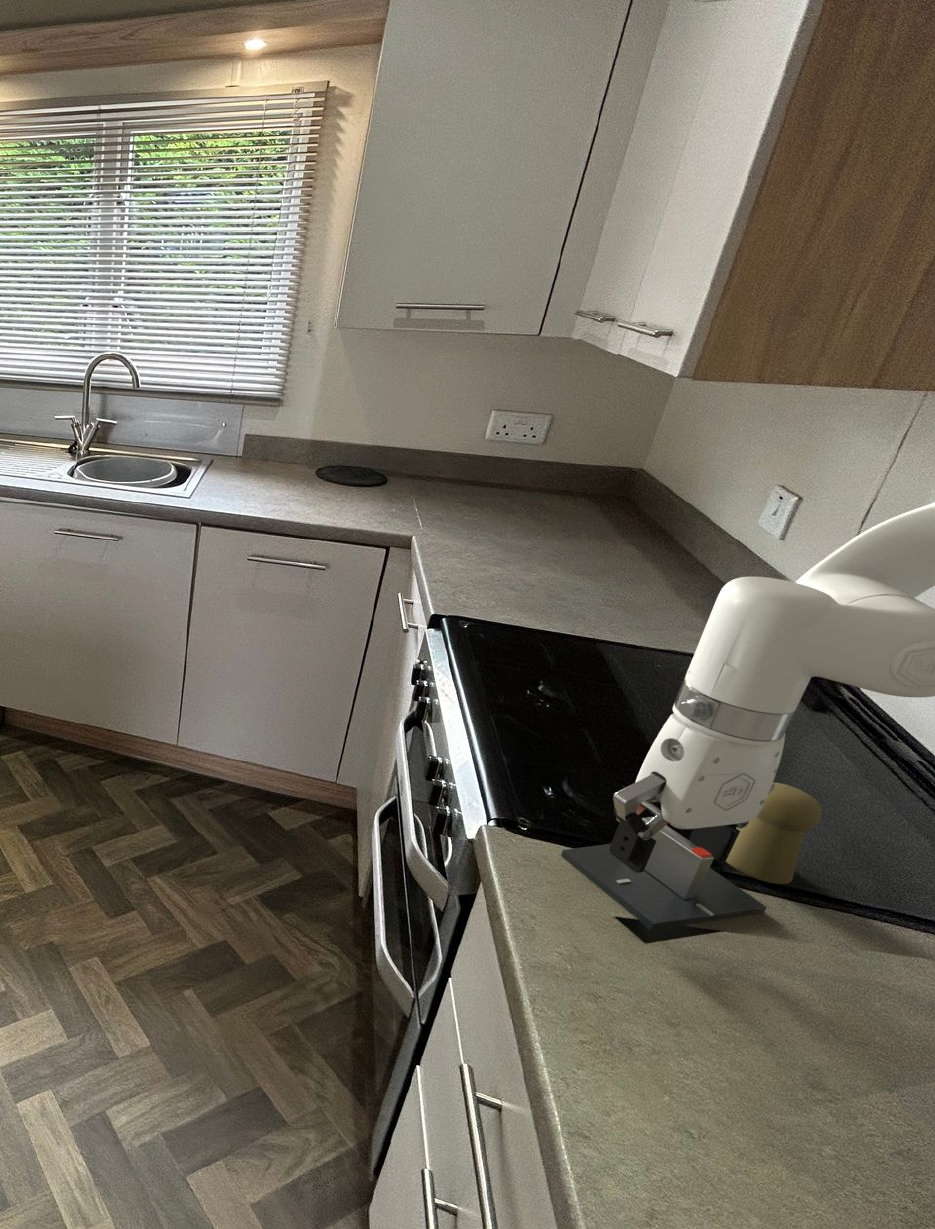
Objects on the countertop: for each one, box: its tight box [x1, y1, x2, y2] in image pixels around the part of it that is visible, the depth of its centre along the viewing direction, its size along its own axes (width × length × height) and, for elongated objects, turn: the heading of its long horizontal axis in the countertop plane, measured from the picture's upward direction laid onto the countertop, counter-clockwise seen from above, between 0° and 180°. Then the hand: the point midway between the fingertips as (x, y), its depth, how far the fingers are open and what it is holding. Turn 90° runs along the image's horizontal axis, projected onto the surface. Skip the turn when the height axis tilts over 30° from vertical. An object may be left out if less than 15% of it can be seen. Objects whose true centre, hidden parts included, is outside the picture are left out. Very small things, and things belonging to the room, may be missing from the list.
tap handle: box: [642, 816, 714, 899], centre depth 75 cm, size 6×1×5 cm, turn 10°
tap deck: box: [560, 843, 767, 944], centre depth 76 cm, size 13×10×3 cm
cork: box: [725, 782, 822, 885], centre depth 78 cm, size 6×6×11 cm
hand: (666, 857), depth 75 cm, fingers open, 9 cm apart
